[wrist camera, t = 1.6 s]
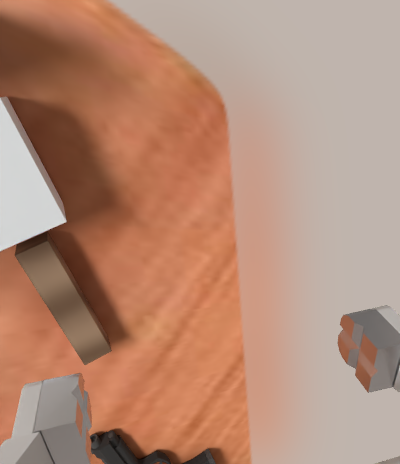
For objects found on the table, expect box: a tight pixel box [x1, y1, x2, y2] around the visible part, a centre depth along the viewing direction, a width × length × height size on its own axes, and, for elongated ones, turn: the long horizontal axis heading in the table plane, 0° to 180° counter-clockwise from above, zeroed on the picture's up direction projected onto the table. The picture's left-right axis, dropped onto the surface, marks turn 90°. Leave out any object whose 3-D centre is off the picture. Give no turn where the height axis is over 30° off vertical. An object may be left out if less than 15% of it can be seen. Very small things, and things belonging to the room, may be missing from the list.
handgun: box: [90, 431, 216, 464], centre depth 51 cm, size 3×19×12 cm
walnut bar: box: [15, 231, 111, 365], centre depth 38 cm, size 14×3×3 cm, turn 19°
